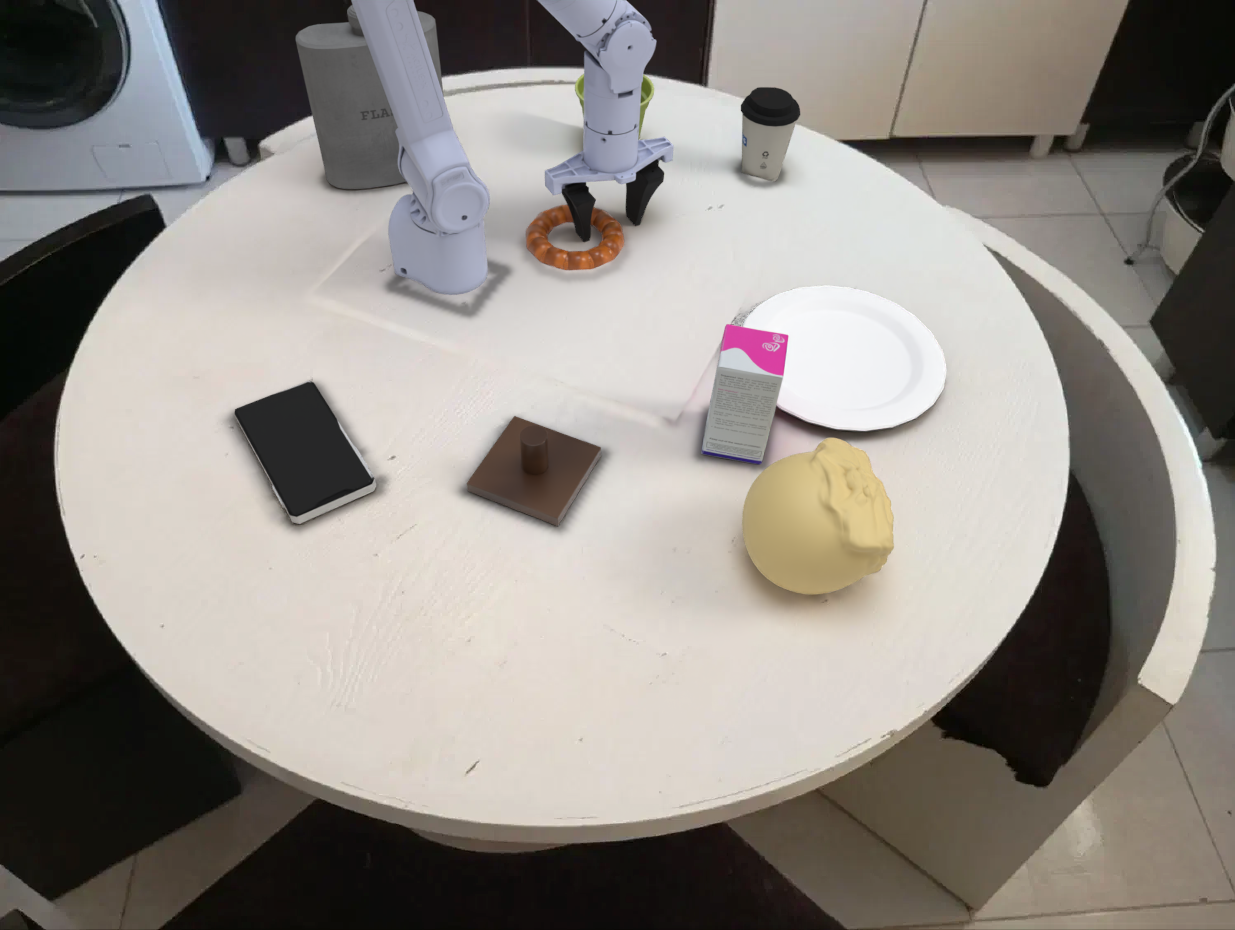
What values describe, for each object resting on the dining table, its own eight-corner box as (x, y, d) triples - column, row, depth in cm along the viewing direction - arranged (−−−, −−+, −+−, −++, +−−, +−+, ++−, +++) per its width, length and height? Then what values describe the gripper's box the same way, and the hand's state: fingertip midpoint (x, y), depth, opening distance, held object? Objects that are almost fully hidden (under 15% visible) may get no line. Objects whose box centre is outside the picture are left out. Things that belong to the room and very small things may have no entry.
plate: (777, 273, 109) (779, 261, 108) (964, 334, 104) (969, 322, 102) (703, 394, 97) (705, 382, 96) (911, 470, 92) (916, 459, 90)
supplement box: (763, 466, 91) (783, 378, 83) (700, 455, 92) (713, 367, 83) (770, 420, 95) (789, 332, 86) (708, 410, 96) (722, 321, 87)
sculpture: (890, 608, 82) (926, 531, 74) (747, 616, 81) (767, 539, 73) (858, 499, 89) (887, 418, 81) (726, 504, 88) (742, 423, 80)
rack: (467, 491, 88) (462, 453, 84) (514, 423, 94) (512, 385, 90) (557, 526, 86) (557, 489, 82) (601, 455, 92) (602, 417, 88)
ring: (509, 260, 109) (508, 243, 107) (553, 208, 115) (553, 190, 114) (598, 289, 106) (598, 271, 105) (638, 233, 113) (639, 216, 111)
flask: (333, 197, 115) (295, 30, 100) (323, 170, 119) (285, 4, 103) (457, 173, 119) (440, 8, 104) (444, 147, 123) (426, -16, 107)
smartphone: (313, 378, 95) (378, 481, 87) (315, 387, 96) (380, 489, 88) (230, 410, 92) (290, 519, 84) (234, 419, 93) (293, 528, 85)
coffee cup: (798, 169, 122) (812, 94, 114) (772, 197, 118) (786, 121, 111) (747, 151, 124) (759, 76, 117) (721, 177, 120) (731, 101, 113)
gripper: (565, 157, 97) (566, 268, 107) (692, 122, 101) (681, 231, 112) (534, 122, 100) (538, 231, 111) (657, 89, 105) (650, 197, 116)
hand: (608, 229), depth 112 cm, fingers open, 6 cm apart
